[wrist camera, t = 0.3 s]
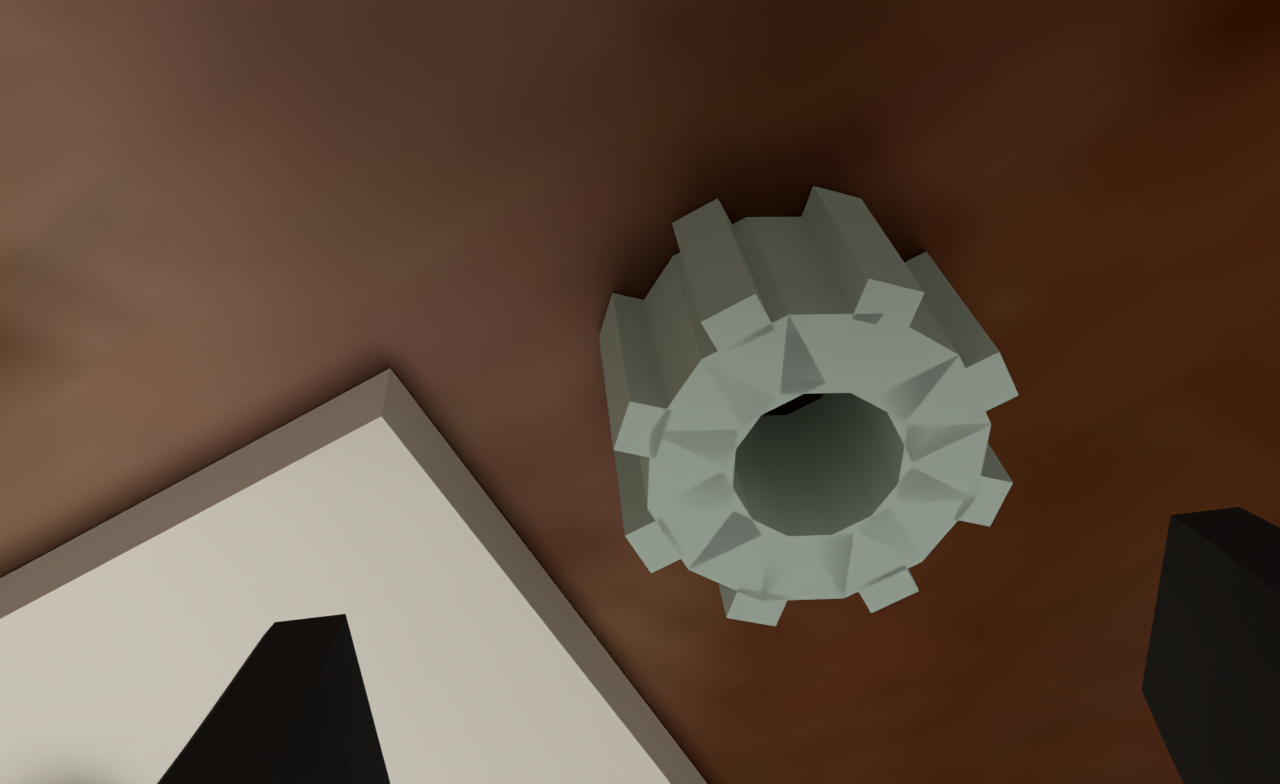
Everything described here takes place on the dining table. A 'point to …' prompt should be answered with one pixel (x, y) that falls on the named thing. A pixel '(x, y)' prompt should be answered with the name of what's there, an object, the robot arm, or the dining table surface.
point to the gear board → (315, 587)
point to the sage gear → (813, 435)
